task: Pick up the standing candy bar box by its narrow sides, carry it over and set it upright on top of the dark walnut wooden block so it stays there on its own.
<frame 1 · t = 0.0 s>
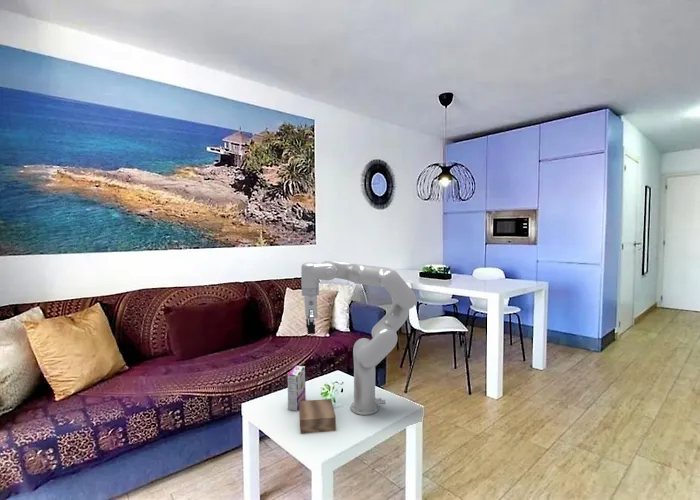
hand: (310, 330, 161), 37 cm above the table, tool pointing down, fingers open, 9 cm apart
candy bar box: (296, 405, 171), on the table
walnut block: (316, 422, 156), on the table
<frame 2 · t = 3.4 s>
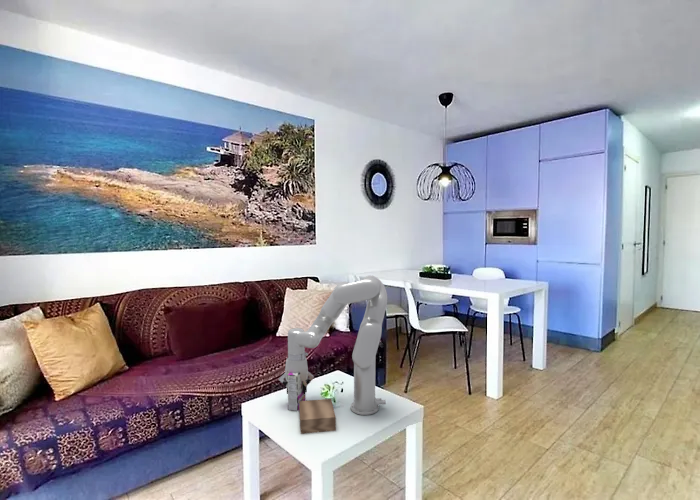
hand: (296, 394, 170), 5 cm above the table, tool pointing down, fingers closed on candy bar box, 6 cm apart
candy bar box: (296, 405, 171), on the table, touching gripper
everything else where it was.
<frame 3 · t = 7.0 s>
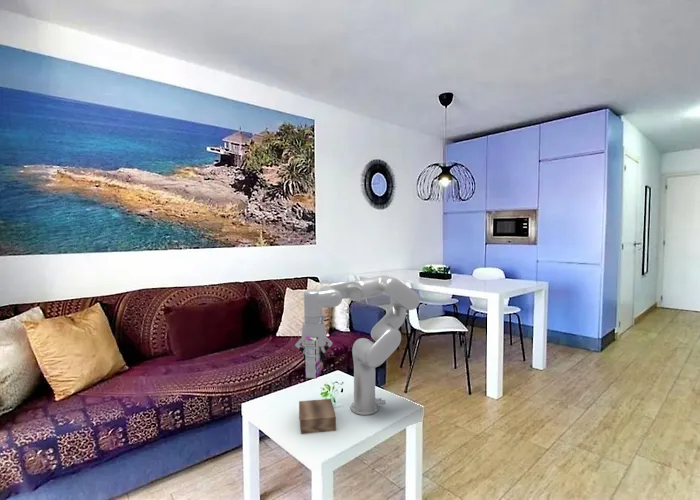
hand: (314, 361, 156), 25 cm above the table, tool pointing down, fingers closed on candy bar box, 6 cm apart
candy bar box: (314, 373, 157), point 20 cm above the table, touching gripper
everything else where it was.
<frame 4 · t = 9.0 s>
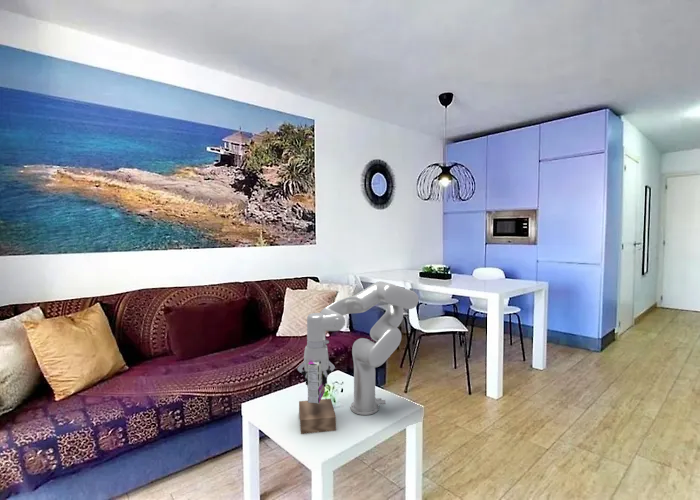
hand: (316, 385, 155), 16 cm above the table, tool pointing down, fingers closed on candy bar box, 6 cm apart
candy bar box: (316, 397, 156), point 10 cm above the table, touching gripper
everything else where it was.
when the fingers open (12 cm above the table, at t = 10.6 s): candy bar box drops 2 cm, resting on walnut block.
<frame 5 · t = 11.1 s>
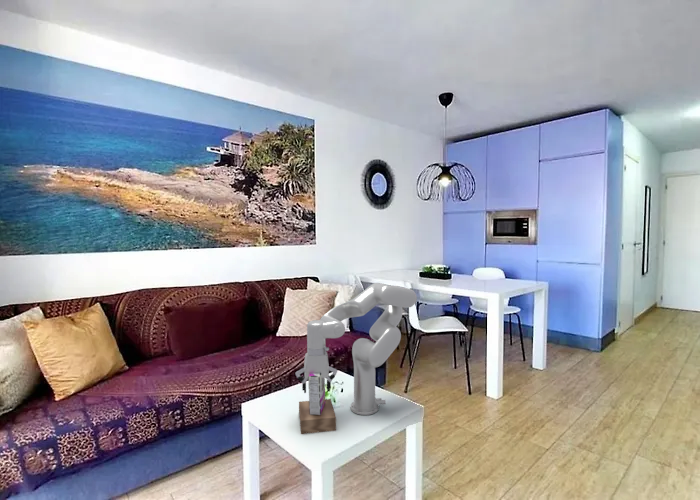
hand: (316, 390, 155), 13 cm above the table, tool pointing down, fingers open, 9 cm apart
candy bar box: (317, 409, 156), point 5 cm above the table, touching walnut block
walnut block: (316, 423, 156), on the table, touching candy bar box
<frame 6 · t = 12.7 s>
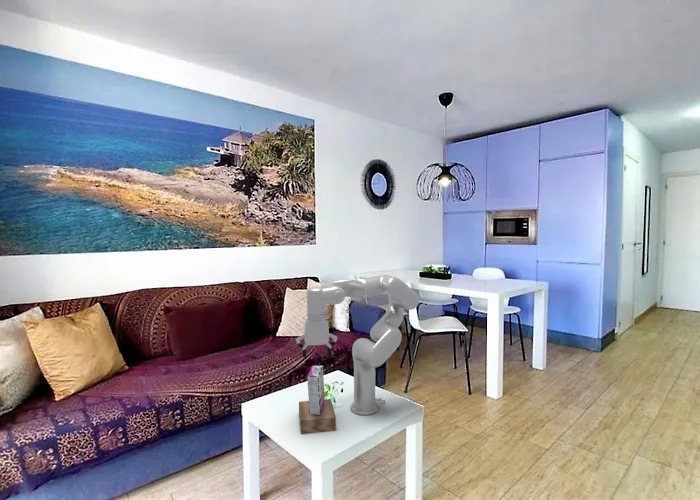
hand: (317, 357, 154), 27 cm above the table, tool pointing down, fingers open, 9 cm apart
nothing on the table moved.
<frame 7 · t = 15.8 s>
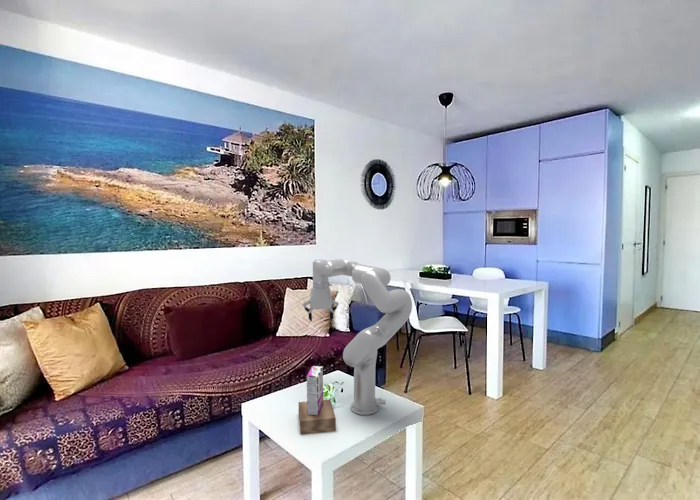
hand: (320, 320, 180), 36 cm above the table, tool pointing down, fingers open, 9 cm apart
nothing on the table moved.
at the end: candy bar box inside the target area on the walnut block (0.6 cm from its centre), point 5.8 cm above the walnut block's base; candy bar box tilted 0°; the gripper is holding nothing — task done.
